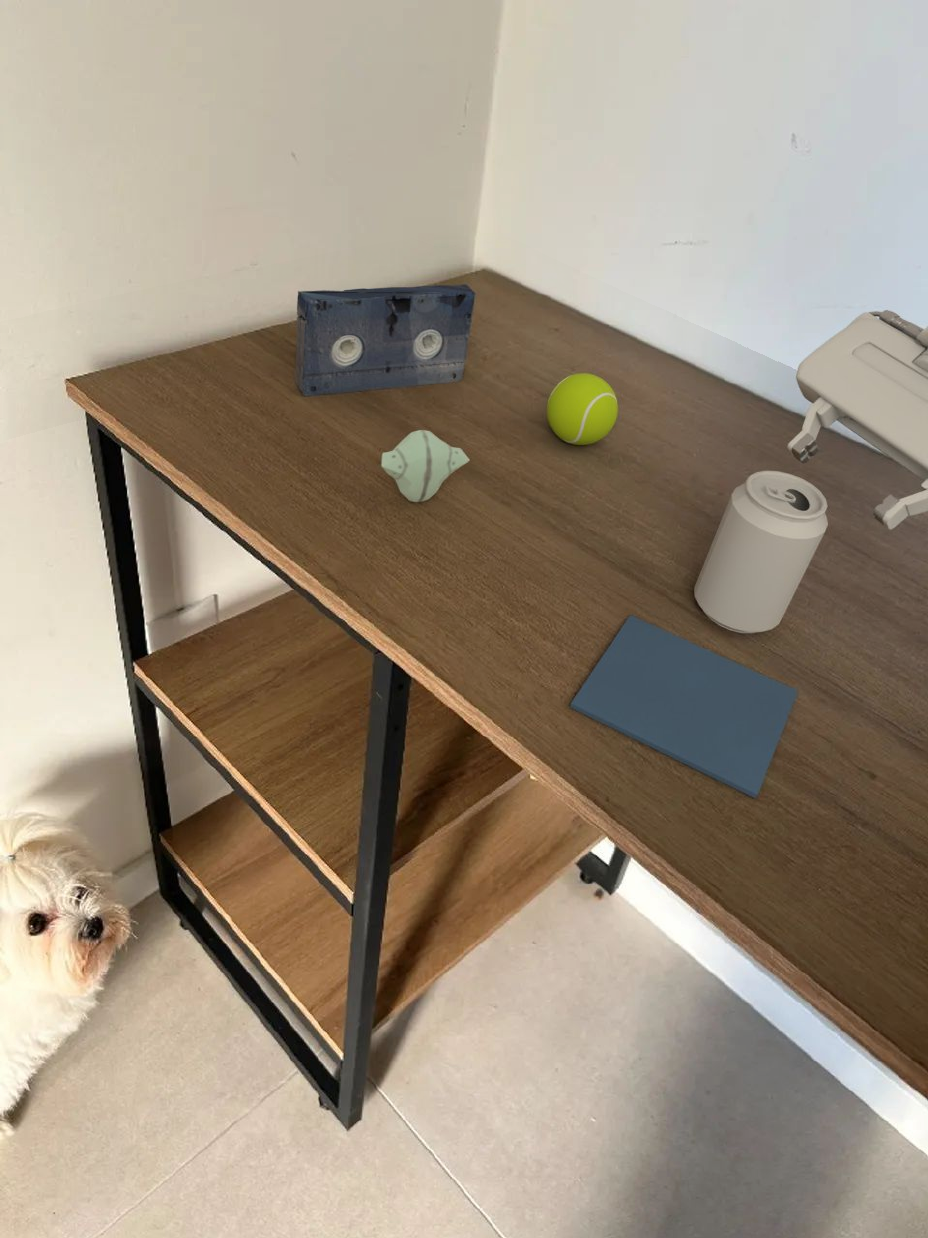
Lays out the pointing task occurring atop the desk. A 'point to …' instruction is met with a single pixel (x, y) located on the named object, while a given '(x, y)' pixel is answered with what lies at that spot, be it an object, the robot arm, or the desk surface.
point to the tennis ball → (582, 409)
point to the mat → (688, 704)
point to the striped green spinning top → (422, 464)
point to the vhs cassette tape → (381, 337)
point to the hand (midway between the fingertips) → (835, 487)
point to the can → (761, 551)
